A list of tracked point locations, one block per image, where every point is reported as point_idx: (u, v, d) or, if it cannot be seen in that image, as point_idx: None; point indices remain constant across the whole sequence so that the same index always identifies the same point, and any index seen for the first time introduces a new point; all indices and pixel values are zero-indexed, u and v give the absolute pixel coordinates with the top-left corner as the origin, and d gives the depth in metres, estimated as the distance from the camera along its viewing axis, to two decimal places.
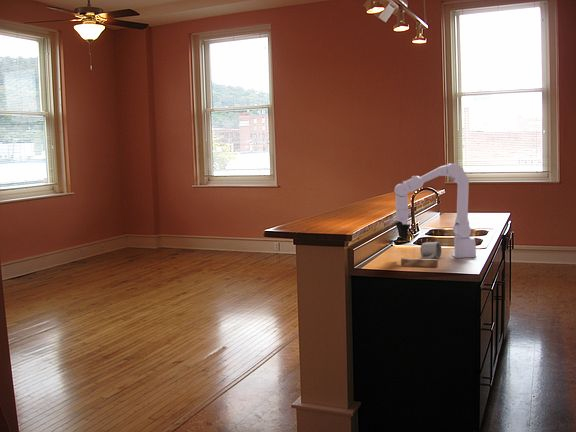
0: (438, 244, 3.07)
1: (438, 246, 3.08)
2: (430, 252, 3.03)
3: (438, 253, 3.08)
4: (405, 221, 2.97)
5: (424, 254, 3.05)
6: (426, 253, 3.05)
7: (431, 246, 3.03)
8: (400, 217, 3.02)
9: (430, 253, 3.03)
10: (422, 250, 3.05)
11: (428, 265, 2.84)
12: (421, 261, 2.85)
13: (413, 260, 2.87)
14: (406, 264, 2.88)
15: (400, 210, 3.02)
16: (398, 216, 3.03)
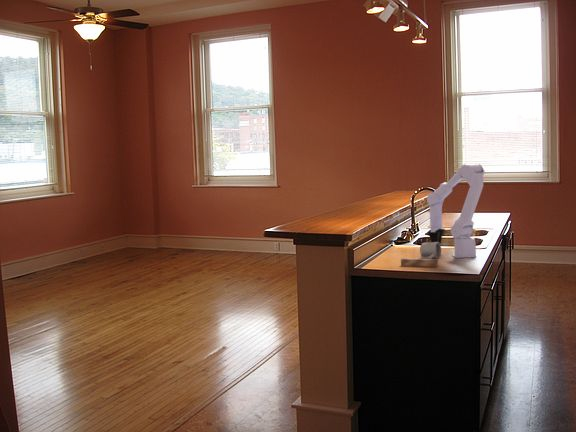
0: (438, 244, 3.07)
1: (438, 246, 3.07)
2: (430, 252, 3.03)
3: (438, 253, 3.07)
4: (433, 229, 3.10)
5: (424, 254, 3.05)
6: (426, 253, 3.04)
7: (431, 246, 3.03)
8: (432, 225, 3.14)
9: (430, 253, 3.03)
10: (422, 250, 3.05)
11: (428, 265, 2.84)
12: (421, 261, 2.85)
13: (413, 260, 2.87)
14: (406, 264, 2.88)
15: (432, 218, 3.14)
16: (430, 224, 3.15)
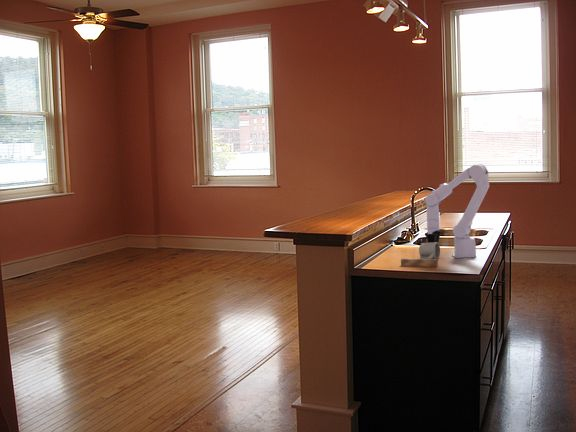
0: (437, 244, 3.05)
1: (437, 246, 3.06)
2: (429, 252, 3.01)
3: (437, 253, 3.06)
4: (430, 231, 3.04)
5: (423, 255, 3.03)
6: (425, 253, 3.03)
7: (430, 246, 3.01)
8: (429, 226, 3.09)
9: (429, 253, 3.01)
10: (421, 250, 3.04)
11: (428, 265, 2.84)
12: (421, 261, 2.85)
13: (413, 260, 2.87)
14: (406, 264, 2.88)
15: (429, 220, 3.09)
16: (428, 225, 3.10)
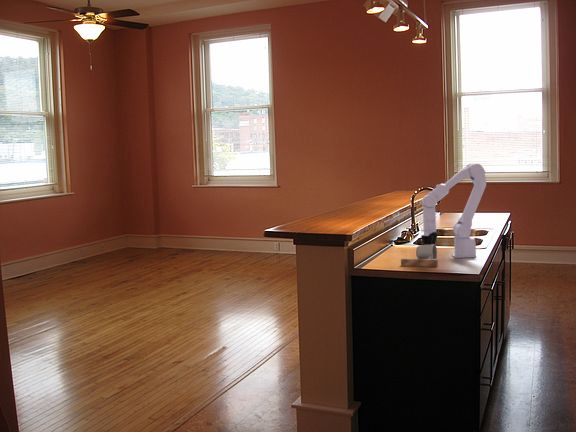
0: (434, 247, 2.99)
1: (433, 249, 3.00)
2: (426, 255, 2.95)
3: (434, 256, 3.00)
4: (426, 233, 2.98)
5: (420, 257, 2.97)
6: (422, 256, 2.96)
7: (427, 249, 2.95)
8: (425, 228, 3.03)
9: (426, 256, 2.95)
10: (418, 253, 2.97)
11: (428, 265, 2.84)
12: (421, 261, 2.85)
13: (413, 260, 2.87)
14: (406, 264, 2.88)
15: (425, 221, 3.03)
16: (424, 227, 3.04)
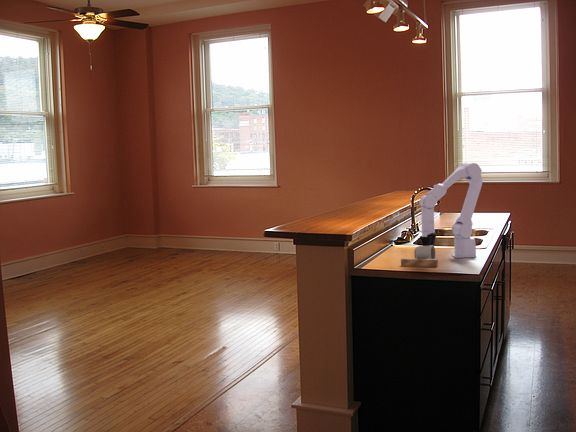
0: (432, 248, 2.96)
1: (432, 250, 2.97)
2: (425, 256, 2.92)
3: (432, 257, 2.97)
4: (424, 233, 2.95)
5: (418, 258, 2.94)
6: (421, 257, 2.93)
7: (426, 250, 2.92)
8: (424, 229, 3.00)
9: (425, 257, 2.92)
10: (416, 254, 2.94)
11: (428, 265, 2.84)
12: (421, 261, 2.85)
13: (413, 260, 2.87)
14: (406, 264, 2.88)
15: (424, 222, 3.00)
16: (422, 228, 3.01)
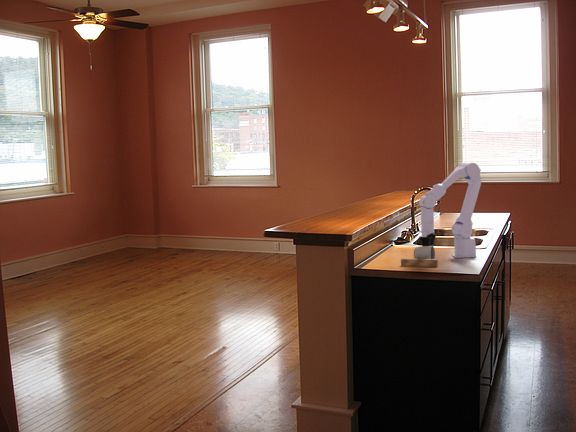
0: (432, 248, 2.95)
1: (431, 250, 2.96)
2: (424, 257, 2.91)
3: (432, 257, 2.96)
4: (424, 234, 2.95)
5: None
6: (420, 258, 2.92)
7: (425, 250, 2.91)
8: (423, 229, 2.99)
9: (424, 258, 2.91)
10: (416, 255, 2.93)
11: (428, 265, 2.84)
12: (421, 261, 2.85)
13: (413, 260, 2.87)
14: (406, 264, 2.88)
15: (423, 222, 2.99)
16: (422, 228, 3.00)
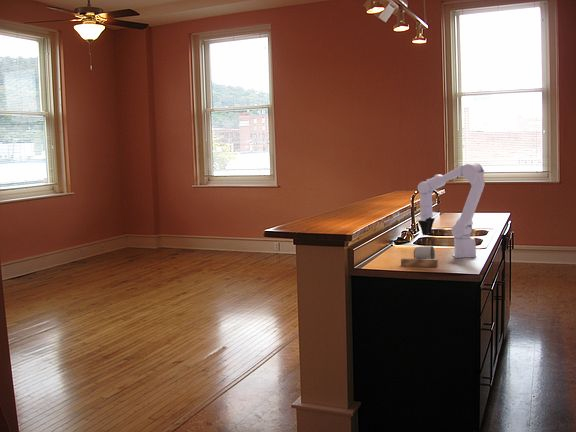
0: (431, 248, 2.95)
1: (431, 250, 2.96)
2: (424, 257, 2.91)
3: (431, 258, 2.96)
4: (423, 218, 3.09)
5: None
6: (420, 258, 2.92)
7: (425, 250, 2.91)
8: (422, 214, 3.14)
9: (424, 258, 2.91)
10: (415, 255, 2.93)
11: (428, 265, 2.84)
12: (421, 261, 2.85)
13: (413, 260, 2.87)
14: (406, 264, 2.88)
15: (422, 207, 3.13)
16: (421, 212, 3.15)
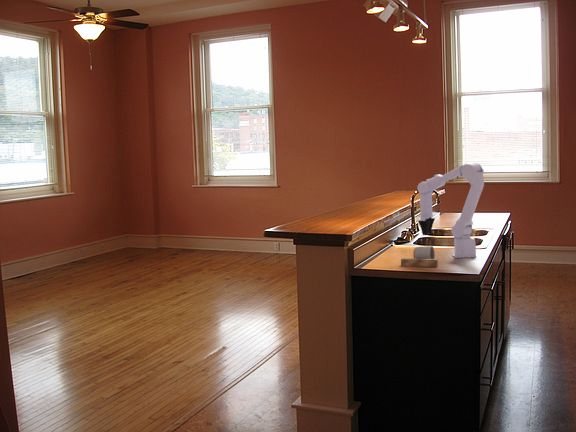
0: (431, 248, 2.95)
1: (431, 250, 2.96)
2: (424, 257, 2.90)
3: (431, 258, 2.96)
4: (423, 218, 3.09)
5: None
6: (420, 258, 2.92)
7: (425, 251, 2.91)
8: (422, 214, 3.14)
9: (424, 258, 2.91)
10: (415, 255, 2.93)
11: (428, 265, 2.84)
12: (421, 261, 2.85)
13: (413, 260, 2.87)
14: (406, 264, 2.88)
15: (422, 207, 3.14)
16: (421, 213, 3.15)
